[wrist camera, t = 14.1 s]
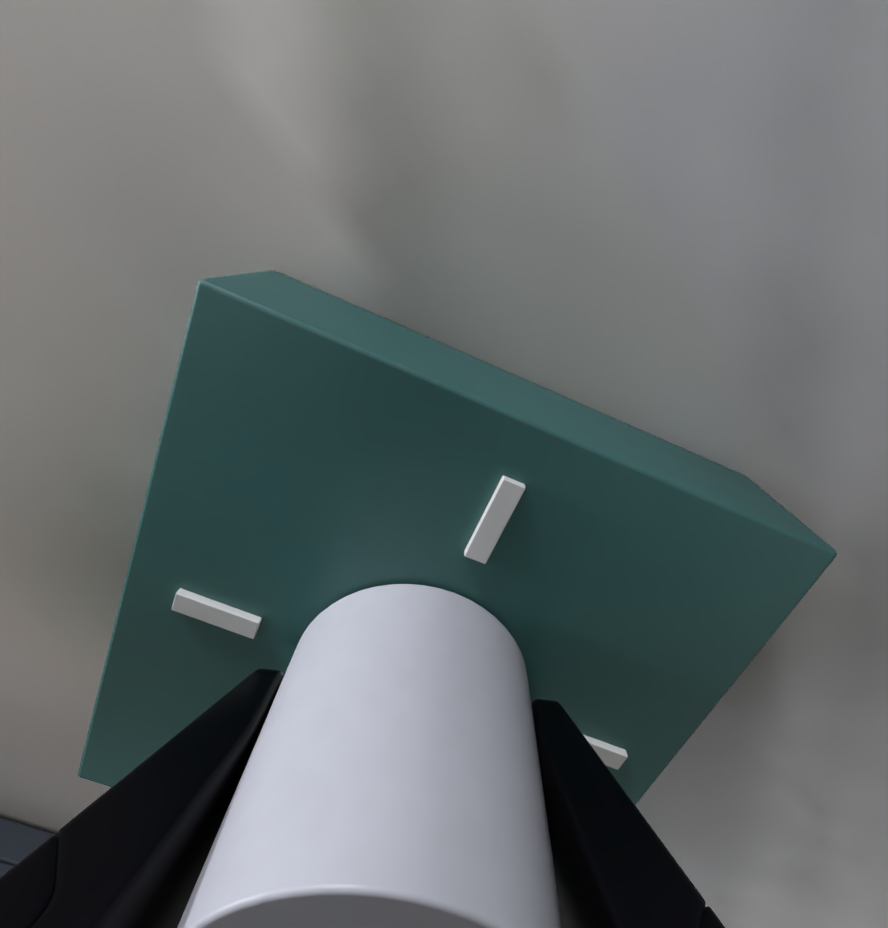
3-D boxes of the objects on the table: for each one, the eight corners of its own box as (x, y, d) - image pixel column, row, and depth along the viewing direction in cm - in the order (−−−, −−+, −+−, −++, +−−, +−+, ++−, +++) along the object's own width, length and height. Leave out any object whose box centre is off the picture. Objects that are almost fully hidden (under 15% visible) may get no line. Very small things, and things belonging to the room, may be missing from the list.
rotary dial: (156, 667, 14) (69, 784, 11) (271, 268, 10) (190, 278, 7) (526, 795, 15) (541, 934, 12) (747, 476, 11) (848, 559, 8)
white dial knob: (289, 751, 10) (150, 1147, 6) (297, 565, 9) (120, 903, 4) (505, 780, 10) (533, 1192, 6) (548, 600, 9) (634, 969, 4)
